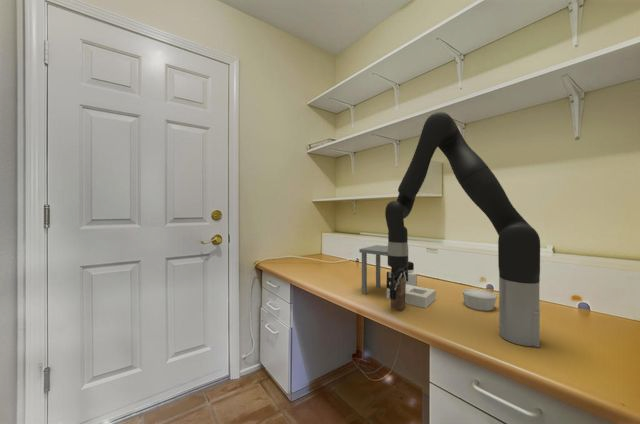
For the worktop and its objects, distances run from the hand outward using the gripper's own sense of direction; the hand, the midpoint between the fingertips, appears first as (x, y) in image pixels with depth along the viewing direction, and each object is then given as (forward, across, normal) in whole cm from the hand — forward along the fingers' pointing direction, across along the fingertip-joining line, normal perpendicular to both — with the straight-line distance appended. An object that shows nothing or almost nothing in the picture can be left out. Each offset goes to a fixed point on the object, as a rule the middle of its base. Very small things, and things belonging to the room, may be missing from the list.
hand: (397, 296), depth 96 cm
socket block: (+5, +13, 0) cm, 14 cm away
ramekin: (+5, +22, -23) cm, 32 cm away
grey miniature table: (+5, +13, +13) cm, 19 cm away
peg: (+5, 0, 0) cm, 5 cm away
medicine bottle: (+5, +29, +8) cm, 30 cm away
